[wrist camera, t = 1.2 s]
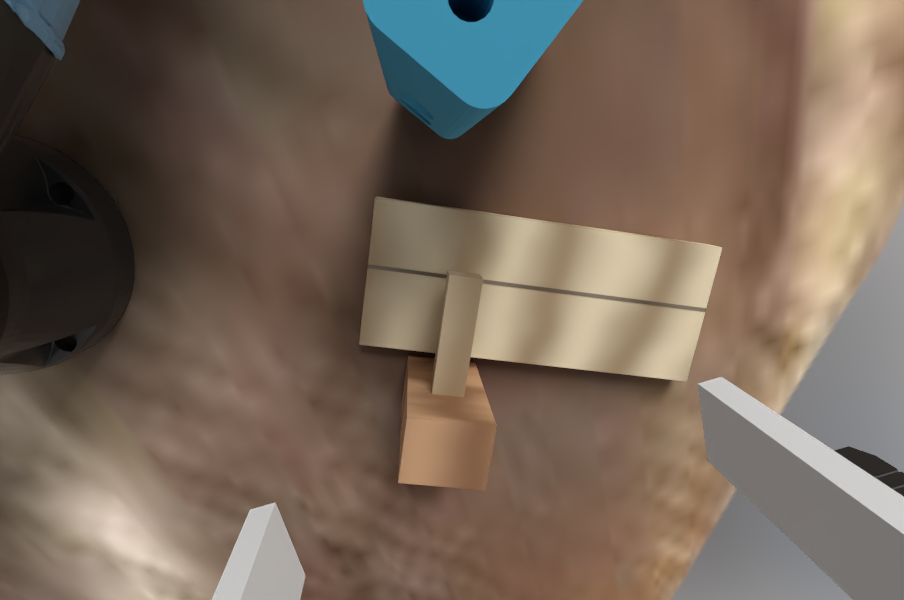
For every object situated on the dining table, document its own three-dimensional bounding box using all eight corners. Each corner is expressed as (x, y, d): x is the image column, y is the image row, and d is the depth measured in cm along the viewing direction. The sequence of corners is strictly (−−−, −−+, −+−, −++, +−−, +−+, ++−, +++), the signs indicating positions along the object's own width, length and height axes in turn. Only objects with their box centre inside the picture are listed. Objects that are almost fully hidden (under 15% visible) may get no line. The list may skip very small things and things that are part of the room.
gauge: (400, 412, 38) (396, 492, 29) (421, 254, 36) (425, 283, 26) (465, 418, 39) (483, 499, 29) (491, 263, 36) (520, 296, 27)
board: (361, 336, 37) (358, 344, 35) (377, 196, 35) (375, 197, 33) (674, 372, 39) (687, 381, 38) (707, 244, 37) (722, 247, 35)
